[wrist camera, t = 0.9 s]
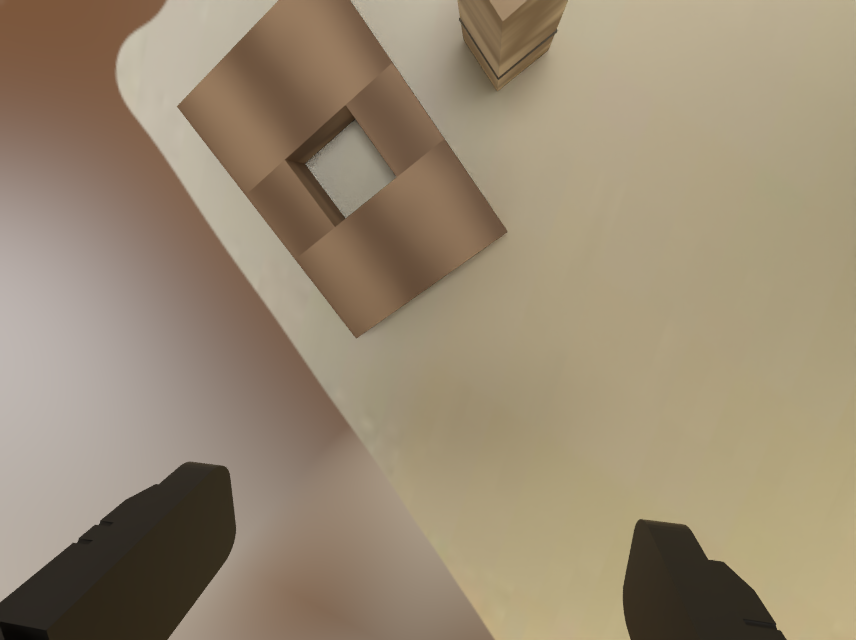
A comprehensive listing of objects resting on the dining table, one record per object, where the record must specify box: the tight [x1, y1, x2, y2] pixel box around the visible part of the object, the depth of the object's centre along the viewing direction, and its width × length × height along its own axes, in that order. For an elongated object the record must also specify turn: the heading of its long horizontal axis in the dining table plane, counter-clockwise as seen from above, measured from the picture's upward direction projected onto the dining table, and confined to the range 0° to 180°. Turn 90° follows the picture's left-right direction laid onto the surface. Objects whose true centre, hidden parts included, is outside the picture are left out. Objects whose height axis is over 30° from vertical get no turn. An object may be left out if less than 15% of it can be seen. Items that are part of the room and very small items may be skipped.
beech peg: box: [458, 0, 568, 91], centre depth 21 cm, size 4×4×11 cm
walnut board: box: [177, 0, 507, 338], centre depth 28 cm, size 12×18×3 cm, turn 36°
